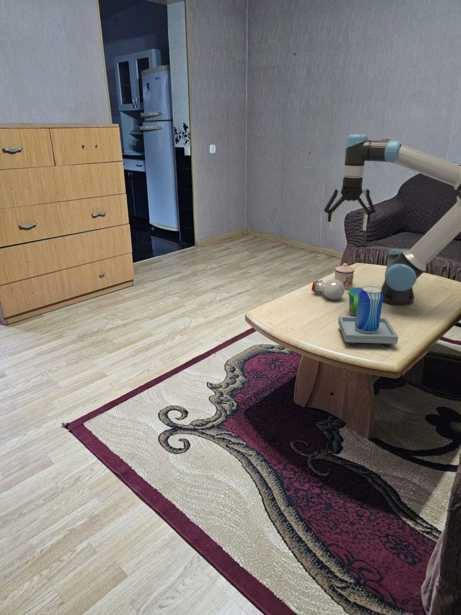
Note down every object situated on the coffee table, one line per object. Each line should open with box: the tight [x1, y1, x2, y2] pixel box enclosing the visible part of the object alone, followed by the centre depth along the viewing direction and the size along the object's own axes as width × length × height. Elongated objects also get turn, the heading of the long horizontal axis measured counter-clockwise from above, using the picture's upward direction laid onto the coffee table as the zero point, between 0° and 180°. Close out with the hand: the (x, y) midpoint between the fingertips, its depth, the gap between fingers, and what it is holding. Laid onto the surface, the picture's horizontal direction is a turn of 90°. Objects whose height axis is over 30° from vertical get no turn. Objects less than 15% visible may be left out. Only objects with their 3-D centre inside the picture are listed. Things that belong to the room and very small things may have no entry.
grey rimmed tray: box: [337, 315, 399, 348], centre depth 161 cm, size 18×16×5 cm
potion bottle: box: [311, 279, 346, 301], centre depth 197 cm, size 9×10×15 cm
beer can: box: [355, 285, 384, 334], centre depth 157 cm, size 8×8×16 cm
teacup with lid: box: [334, 262, 355, 291], centre depth 211 cm, size 12×9×12 cm
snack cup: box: [347, 287, 363, 317], centre depth 180 cm, size 16×10×10 cm
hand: (347, 229), depth 180 cm, fingers open, 13 cm apart
